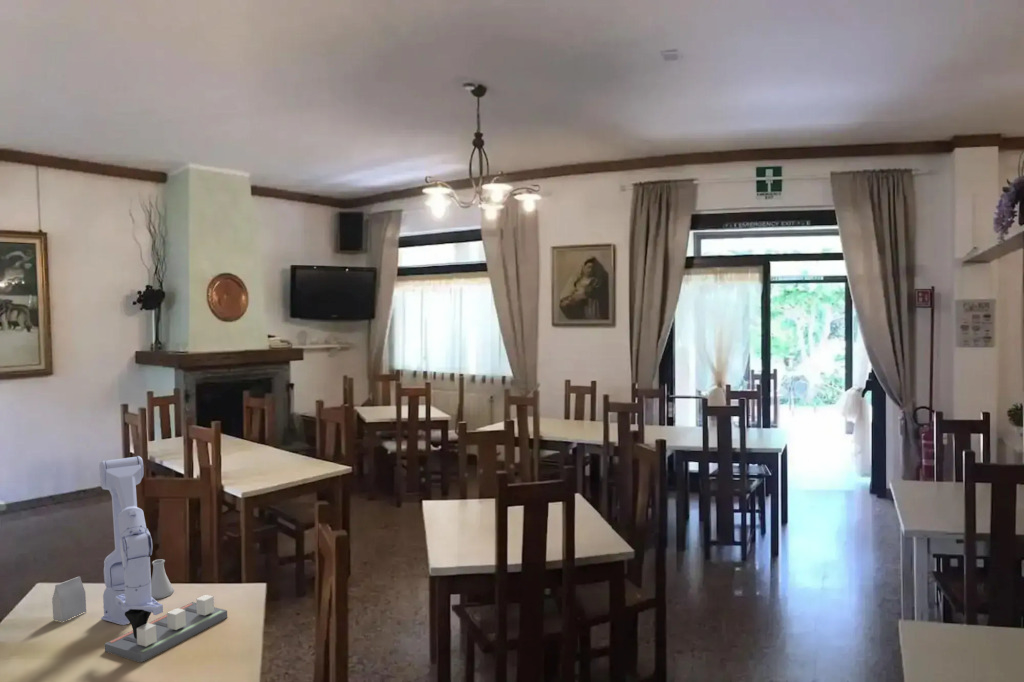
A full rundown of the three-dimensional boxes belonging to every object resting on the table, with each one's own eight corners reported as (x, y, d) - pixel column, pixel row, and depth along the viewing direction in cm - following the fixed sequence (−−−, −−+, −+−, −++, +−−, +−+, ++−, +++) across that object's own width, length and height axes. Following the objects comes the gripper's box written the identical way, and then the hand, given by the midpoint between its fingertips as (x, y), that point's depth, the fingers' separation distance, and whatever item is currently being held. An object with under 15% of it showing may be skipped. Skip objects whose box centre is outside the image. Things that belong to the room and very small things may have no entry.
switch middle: (167, 627, 183) (167, 612, 183) (177, 622, 186) (177, 607, 185) (176, 630, 182) (175, 614, 181) (185, 625, 184) (185, 610, 184)
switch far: (196, 613, 191) (196, 598, 191) (206, 609, 194) (205, 594, 193) (205, 615, 190) (204, 600, 189) (214, 611, 192) (213, 596, 192)
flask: (162, 600, 205) (160, 566, 205) (140, 599, 207) (138, 564, 206) (179, 590, 212) (177, 557, 212) (157, 588, 214) (155, 555, 213)
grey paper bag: (86, 612, 198) (84, 577, 197) (62, 623, 192) (60, 586, 191) (77, 610, 200) (75, 575, 199) (53, 620, 194) (51, 584, 193)
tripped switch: (137, 644, 175) (136, 628, 174) (148, 638, 177) (147, 622, 177) (145, 646, 173) (145, 630, 173) (156, 641, 176) (155, 625, 176)
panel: (104, 651, 176) (104, 643, 176) (193, 609, 200) (192, 601, 199) (141, 662, 171) (140, 654, 170) (227, 617, 194) (227, 610, 194)
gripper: (102, 584, 175) (105, 638, 176) (143, 594, 169) (146, 650, 169) (129, 573, 181) (131, 626, 182) (169, 583, 175) (171, 637, 176)
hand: (140, 637), depth 176 cm, fingers closed
